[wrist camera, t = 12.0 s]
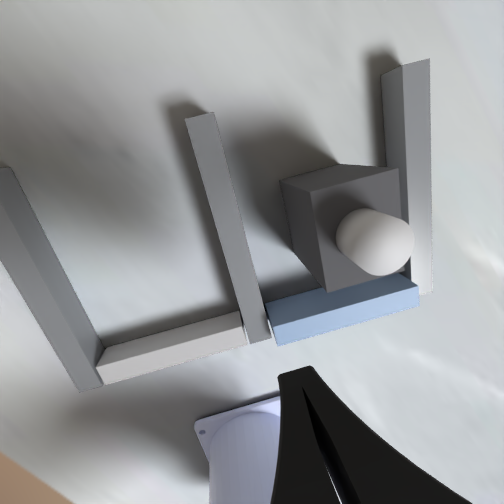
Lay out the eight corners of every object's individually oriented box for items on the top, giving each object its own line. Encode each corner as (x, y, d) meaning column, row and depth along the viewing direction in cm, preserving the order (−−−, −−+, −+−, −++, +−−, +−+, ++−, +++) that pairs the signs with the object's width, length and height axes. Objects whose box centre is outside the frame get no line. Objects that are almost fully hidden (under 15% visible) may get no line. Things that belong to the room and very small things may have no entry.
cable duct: (413, 279, 21) (444, 298, 18) (92, 370, 20) (72, 405, 17) (404, 69, 16) (444, 51, 14) (-18, 174, 15) (-69, 178, 13)
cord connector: (349, 237, 20) (434, 288, 12) (294, 252, 19) (345, 314, 12) (339, 164, 18) (432, 170, 10) (279, 180, 18) (328, 199, 10)
